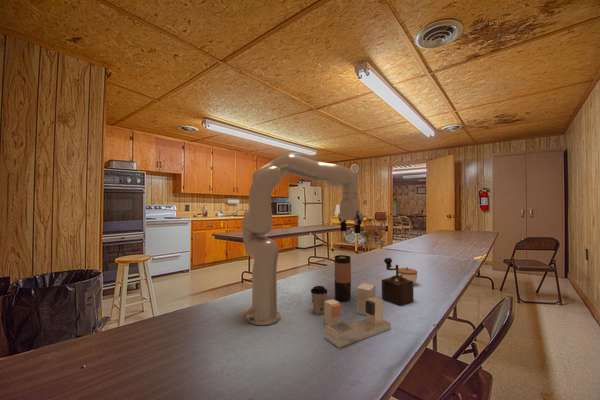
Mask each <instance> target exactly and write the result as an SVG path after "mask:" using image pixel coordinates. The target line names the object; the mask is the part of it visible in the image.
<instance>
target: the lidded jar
mask: <svg viewBox="0 0 600 400" xmlns="http://www.w3.org/2000/svg"><path fill="white" fill-rule="evenodd" d="M398 268H399V267H398ZM398 275H399V276H401V275H403V276H402V277H403V278H406V279H408V280H410V281H413V285H415V283H416V282H417V279H418V271H417V269H415V268H409V267H408V266H407V267H400V268H399V269H398Z"/></svg>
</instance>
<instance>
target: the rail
mask: <svg viewBox="0 0 600 400" xmlns="http://www.w3.org/2000/svg"><path fill="white" fill-rule="evenodd" d="M366 313H367V315H366V318H363V319H359V320H357V321H354V322H350V323H347V322H346V321H344V320H340V321H338V322H335V323H332V324H325V325H324V332H323V333H324V335H323V336H324V339H326V340H327V341H328V342H329V343H331V344H333V345H334V346H336V347H337V348H338V349H340V348H343V347H346V346H348V345H350V344H351V345H352V344H353V343H356V342H359V341H362V340H364V339H367V338H370V337H373V336H375V335H378V334H382V333H383V332H386V331H389V330H392V329H391V328H392V327H391V326H392V324H391V322H389V321H386V320H385V319H384V300H383V299H382V298H378V297H376V296H375V297H373V298H369V299H367V301H366Z"/></svg>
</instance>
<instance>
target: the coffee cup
mask: <svg viewBox="0 0 600 400" xmlns="http://www.w3.org/2000/svg"><path fill="white" fill-rule="evenodd" d="M310 292H311V299H312V308H313V313H314V314H316V315H324V301H327V297H328V296H327V295H328V290H327V289H326V288H325V286H323V285H315V286H313V288H311V290H310Z"/></svg>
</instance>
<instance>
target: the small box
mask: <svg viewBox="0 0 600 400" xmlns="http://www.w3.org/2000/svg"><path fill="white" fill-rule="evenodd" d="M373 297H375V298H376V285H375V284H371V283H366V282H365V283H364V282H362V283H361V284H360V285H359V286H358V287H357V288H356V310H357V311H356V313H357V314H359V315H364V316H367V313H366V301H367V299H369V298H373Z"/></svg>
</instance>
